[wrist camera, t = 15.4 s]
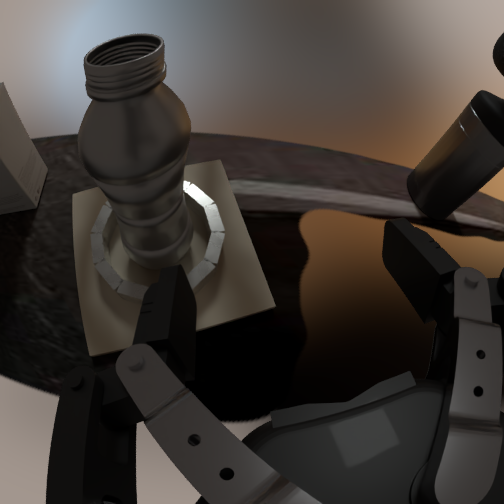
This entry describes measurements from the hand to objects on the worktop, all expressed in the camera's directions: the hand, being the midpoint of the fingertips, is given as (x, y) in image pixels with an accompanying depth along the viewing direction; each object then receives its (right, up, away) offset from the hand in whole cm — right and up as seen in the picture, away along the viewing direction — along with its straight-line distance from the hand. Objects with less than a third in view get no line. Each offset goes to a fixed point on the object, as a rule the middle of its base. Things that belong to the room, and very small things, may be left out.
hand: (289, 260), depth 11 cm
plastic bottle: (-10, +1, +16) cm, 19 cm away
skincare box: (-32, +8, +17) cm, 37 cm away
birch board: (-11, +1, +17) cm, 20 cm away
